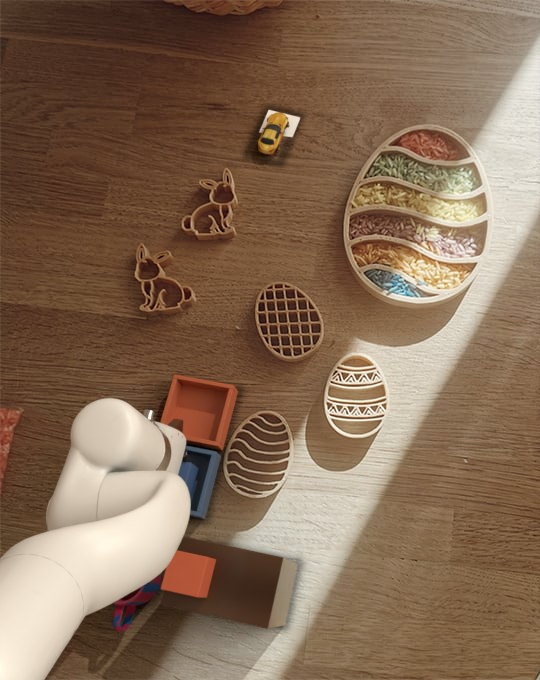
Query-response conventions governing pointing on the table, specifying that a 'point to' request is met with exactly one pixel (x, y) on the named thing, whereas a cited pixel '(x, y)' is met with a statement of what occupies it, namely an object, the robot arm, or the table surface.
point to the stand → (240, 585)
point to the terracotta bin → (201, 410)
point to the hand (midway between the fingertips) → (178, 479)
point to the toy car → (276, 131)
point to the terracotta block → (189, 574)
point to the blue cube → (188, 475)
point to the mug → (134, 603)
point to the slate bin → (203, 479)
